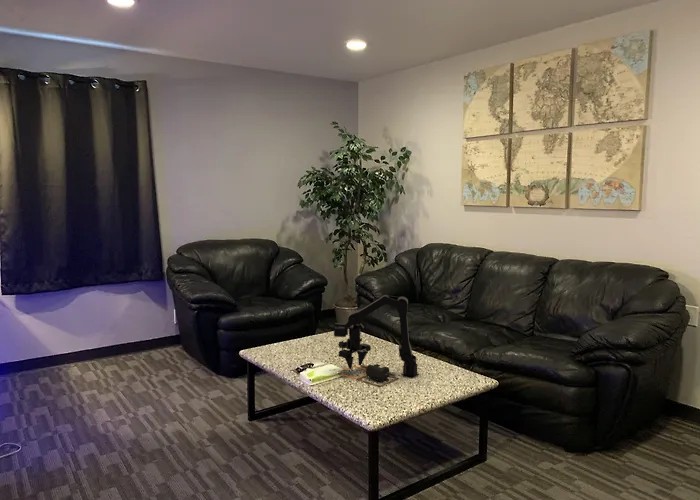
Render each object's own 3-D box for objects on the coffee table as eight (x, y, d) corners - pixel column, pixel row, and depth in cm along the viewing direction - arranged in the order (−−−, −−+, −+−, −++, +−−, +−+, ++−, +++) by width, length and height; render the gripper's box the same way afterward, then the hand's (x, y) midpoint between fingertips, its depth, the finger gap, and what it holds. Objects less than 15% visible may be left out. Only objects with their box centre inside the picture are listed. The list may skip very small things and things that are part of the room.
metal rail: (395, 376, 261) (395, 373, 260) (393, 376, 259) (393, 374, 259) (362, 366, 275) (362, 364, 275) (360, 367, 274) (360, 364, 274)
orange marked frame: (375, 372, 266) (375, 371, 266) (356, 379, 256) (356, 378, 256) (354, 366, 276) (354, 365, 276) (334, 373, 266) (334, 372, 265)
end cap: (365, 379, 257) (365, 365, 256) (375, 375, 262) (375, 362, 261) (380, 384, 250) (380, 370, 249) (390, 380, 255) (390, 366, 254)
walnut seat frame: (398, 379, 256) (398, 378, 256) (379, 387, 246) (379, 386, 245) (375, 372, 266) (375, 371, 266) (356, 380, 255) (356, 379, 255)
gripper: (355, 330, 276) (355, 359, 278) (330, 338, 263) (330, 368, 264) (371, 334, 269) (371, 363, 270) (346, 342, 255) (347, 373, 257)
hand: (355, 367), depth 266 cm, fingers open, 7 cm apart
